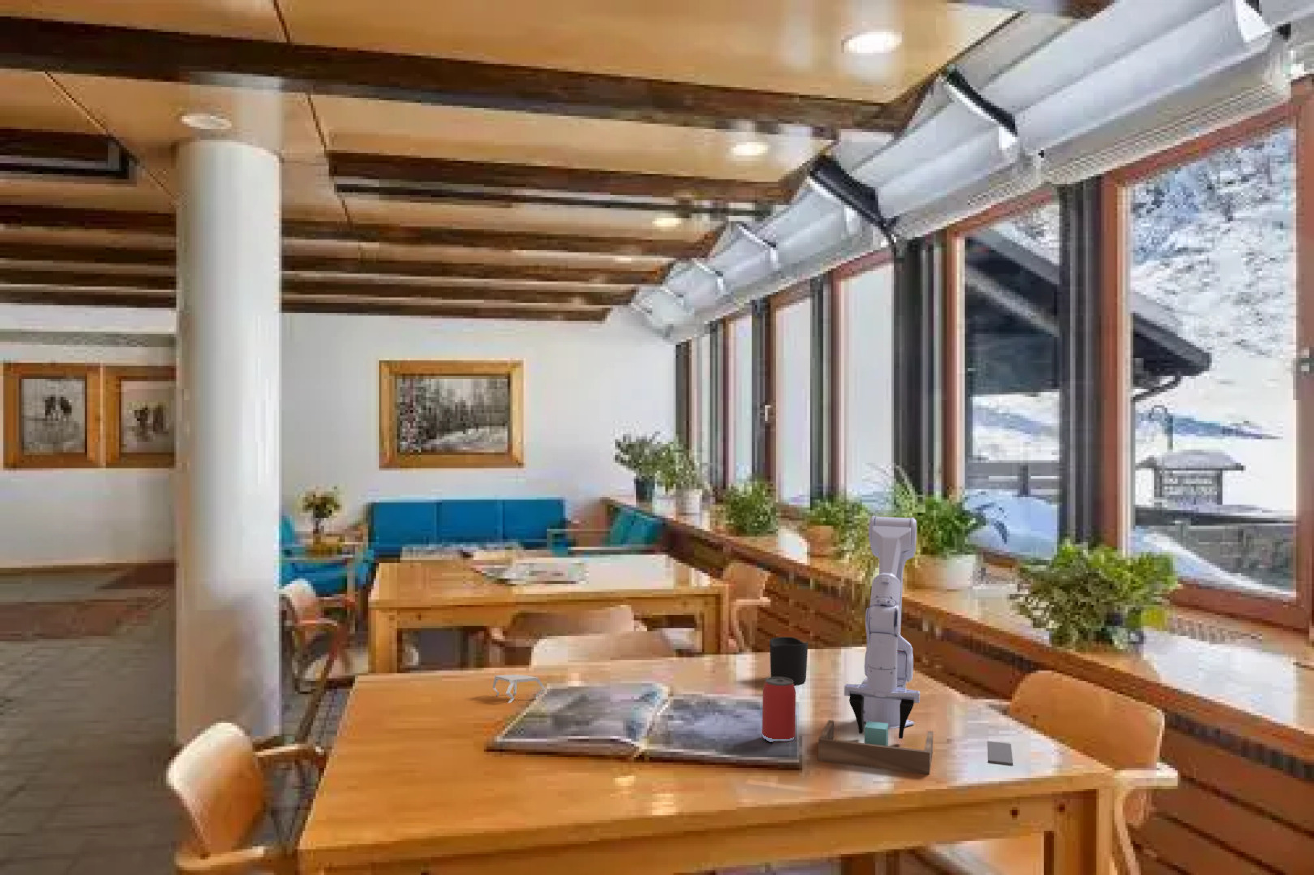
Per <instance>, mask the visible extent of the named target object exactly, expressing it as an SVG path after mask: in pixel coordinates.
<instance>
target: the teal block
mask: <svg viewBox="0 0 1314 875" xmlns="http://www.w3.org/2000/svg"><path fill="white" fill-rule="evenodd" d="M863 738H864V741H863V743H866V744H875V745H883V746H889V728H888V723H880V722H871V721H867V722H865V724H864V736H863Z"/></svg>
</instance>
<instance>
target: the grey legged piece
mask: <svg viewBox="0 0 1314 875" xmlns="http://www.w3.org/2000/svg"><path fill="white" fill-rule="evenodd" d="M499 680H500V681H504V682H509V685H508V687H507V689H506V690H505V694H506V695H507V696H508V697H510V699H509V701H508V702H507V703H508V704H511V703H512V702H513V701H514V699H515V697H514V696H517V688H518V687H517V686H518V683H527V682H535V681H536V683H538V685H539V686H540V687H541V688H542V689H541V690H540V691H539V692H537V693H536V694H535V695H534V697H535V700H536V699H537V698H538V699H539V697H538V696H540V695H541V694H542V693H543V692H544V691H546V688H545V686H544V684H543V683H542V681H541V679H540V678H539V677H538V676H537V677H536V676H531V675H526V674H525V675H524V674H516V673H515V674H501V675H500V674H498V675H494V679H493V685H492V689H493V690H494V691H495V692H496V695H495V697H498V696H499V695H500V692H499V690H497V688H496V686H497V685H496V684H497V682H498V681H499ZM512 689H513V694H512V693H511V691H512Z"/></svg>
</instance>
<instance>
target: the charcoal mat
mask: <svg viewBox="0 0 1314 875" xmlns="http://www.w3.org/2000/svg"><path fill="white" fill-rule="evenodd" d="M986 747H987V748H986V749H987V763H992V764H998V765H999V764H1000V765H1006V764H1007V765H1008V766H1014V761H1013V760H1014V759H1013V753H1012V752H1013V751H1012V743H1008V742H1007V743H1006V742H998V741H992V740H991V741H989V740H988V741H987V746H986Z"/></svg>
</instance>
